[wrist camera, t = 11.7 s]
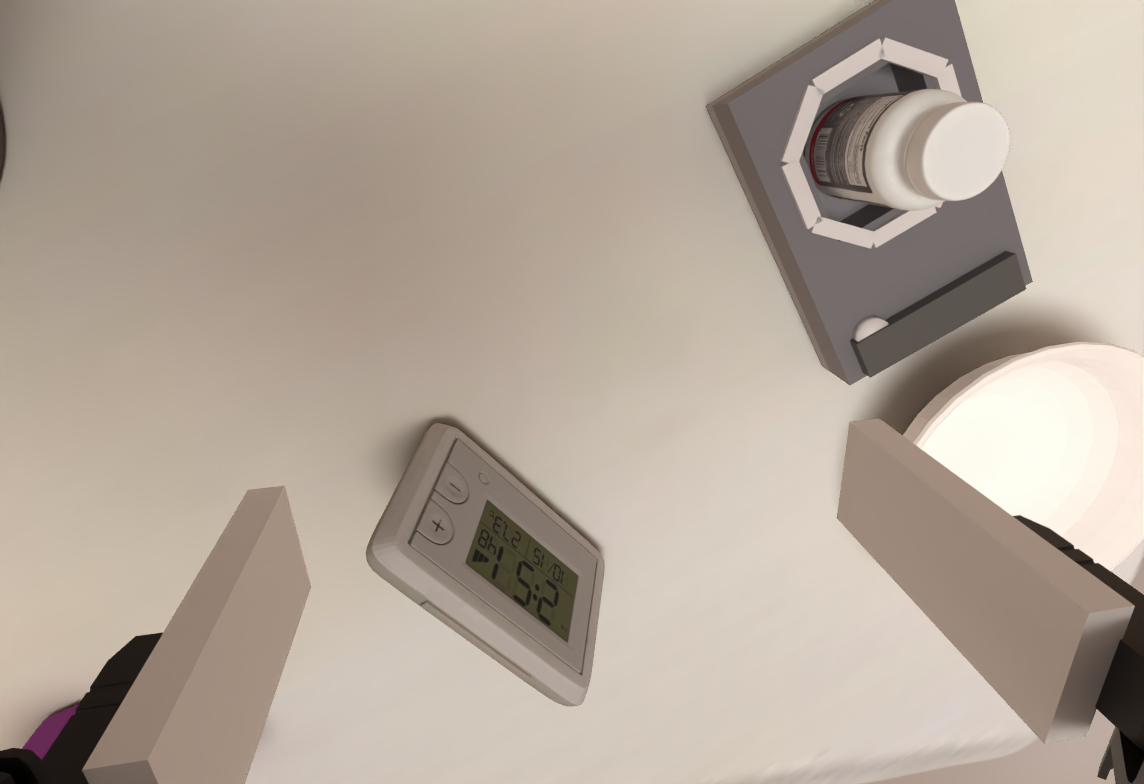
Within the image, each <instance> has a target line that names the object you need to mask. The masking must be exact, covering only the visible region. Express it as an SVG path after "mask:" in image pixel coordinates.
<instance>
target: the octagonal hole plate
mask: <svg viewBox="0 0 1144 784" xmlns="http://www.w3.org/2000/svg"><path fill="white" fill-rule="evenodd" d="M922 89H940V90H946V91H950V92H953V93H955V94H957V95H959V96H960V97H962V98H963V99H965V100H966V101H967V102H981V103H983V101H982V97H981V94H980V90H979V86H978V83H977V79H976V76H975V72H974V68H973V65H972V61H971V58H970V54H969V50H968V47H967V43H966V39H965V36H964V32H963V29H962V25H961V21H960V18H959V14H958V11H957V7H956V3H955V0H875V1H874V2H872V3H870V4H869V5H867V6H866V7H864V8H862V9H861V10H859V11H858V12H856V13H854V14H853V15H851V16H850V17H848V18H846V19H845V20H843V21H842V22H840V23H838V24H837V25H835V26H834V27H832V28H830V29H829V30H827V31H826V32H824V33H822V34H821V35H819V36H818V37H816V38H814V39H813V40H811V41H810V42H808V43H806V44H805V45H803V46H802V47H800V48H798V49H797V50H795V51H794V52H792V53H790V54H789V55H787V56H786V57H784V58H782V59H781V60H779V61H778V62H776V63H774V64H773V65H771V66H770V67H768V68H766V69H765V70H763V71H762V72H760V73H758V74H757V75H755V76H754V77H752V78H750V79H749V80H747V81H746V82H744V83H742V84H741V85H739V86H738V87H736V88H734V89H733V90H731V91H730V92H728V93H726V94H725V95H723V96H722V97H720V98H718V99H717V100H715V101H714V102H712V103H710V104H709V105H707V106H706V107H707V110H708V112H709V114H710V116H711V119H712V121H713V123H714V125H715V128H716V130H717V132H718V134H719V137H720V139H721V141H722V143H723V145H724V148H725V150H726V152H727V154H728V157H729V159H730V161H731V163H732V166H733V168H734V170H735V172H736V174H737V177H738V179H739V181H740V183H741V186H742V188H743V190H744V192H745V195H746V197H747V199H748V201H749V203H750V206H751V208H752V210H753V212H754V215H755V217H756V219H757V221H758V224H759V226H760V228H761V230H762V232H763V235H764V237H765V239H766V241H767V244H768V246H769V248H770V250H771V253H772V255H773V257H774V259H775V261H776V264H777V266H778V268H779V270H780V273H781V275H782V277H783V279H784V282H785V284H786V286H787V288H788V290H789V293H790V295H791V297H792V299H793V302H794V304H795V306H796V308H797V311H798V313H799V315H800V317H801V319H802V322H803V324H804V326H805V328H806V331H807V333H808V335H809V337H810V340H811V342H812V344H813V346H814V348H815V351H816V353H817V355H818V357H819V360H820V362H821V364H822V366H823V367H824V368H826V369H827V370H829V371H830V372H832V373H833V374H835V375H836V376H837V377H839V378H840V379H842V380H843V381H845V382H846V383H847V384H849V385H851V384H853V383H855V382H857V381H858V380H860V379H862V378H864V377H865V376H869V377H872V376H874V375H876V374H877V373H879V372H881V371H883V370H885V369H886V368H888V367H890V366H892V365H893V364H895V363H897V362H899V361H900V360H902V359H904V358H906V357H907V356H909V355H911V354H913V353H914V352H916V351H918V350H920V349H922V348H923V347H925V346H927V345H929V344H930V343H932V342H934V341H936V340H937V339H939V338H941V337H943V336H944V335H946V334H948V333H950V332H951V331H953V330H955V329H957V328H959V327H960V326H962V325H964V324H966V323H967V322H969V321H971V320H973V319H974V318H976V317H978V316H980V315H981V314H983V313H985V312H987V311H988V310H990V309H992V308H994V307H996V306H997V305H999V304H1001V303H1003V302H1004V301H1006V300H1008V299H1010V298H1011V297H1013V296H1015V295H1017V294H1018V293H1020V292H1022V291H1024V290H1025V289H1026V287H1025V286H1026V285H1027V284H1029V283H1031V282H1033V281H1032V278H1031V274H1030V270H1029V267H1028V263H1027V260H1026V256H1025V252H1024V249H1023V245H1022V242H1021V238H1020V234H1019V231H1018V227H1017V223H1016V220H1015V216H1014V213H1013V209H1012V205H1011V202H1010V198H1009V195H1008V191H1007V187H1006V184H1005V180H1004V177H1003V173H1002V170H1001V172H1000V174H999V175H998V177H997V178H996V179H995V180H994V182H993V183H992V184H991V185H990V186H989V187H987V188H986V189H985V190H984V191H982V192H981V193H979V194H978V195H976V196H974V197H971V198H968V199H965V200H960V201H944V202H942V203H941V204H939V205H936V206H934V207H931V208H928V209H924V210H917V211H908V210H898V209H894V208H889V207H884V206H878V205H873V204H868V203H862V202H856V201H850V200H844V199H839V198H835V197H831V196H828V195H826V194H824V193H823V192H822V191H820V190H819V189H818V188H817V187H816V185H815V183H814V180H813V178H812V175H811V173H810V170H809V168H808V165H807V163H806V160H805V148H806V142H807V138H808V135H809V133H810V131H811V129H812V127H813V125H814V124H815V122H816V121H817V119H818V118H819V117H820V115H821V114H822V113H823V112H824V111H826V110H827V109H828V108H829V107H831V106H832V105H834V104H835V103H837V102H839V101H841V100H844V99H847V98H851V97H857V96H866V95H877V94H886V93H894V92H905V91H913V90H922Z"/></svg>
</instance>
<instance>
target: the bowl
mask: <svg viewBox="0 0 1144 784" xmlns="http://www.w3.org/2000/svg"><path fill="white" fill-rule="evenodd" d="M903 436H904V437H905V438H907V439H908V440H909V441H911V442H912V443H913V444H915V445H916V446H918V447H919V448H920V449H922V450H923V451H924V452H926V453H927V454H928V455H930V456H931V457H933V458H934V459H935V460H937V461H938V462H939V463H941V464H942V465H943V466H945V467H946V468H948V469H949V470H950V471H952V472H953V473H954V474H956V475H957V476H958V477H960V478H961V479H963V480H964V481H965V482H967V483H968V484H969V485H971V486H972V487H973V488H975V489H976V490H978V491H979V492H980V493H982V494H983V495H984V496H986V497H987V498H988V499H990V500H991V501H993V502H994V503H995V504H997V505H998V506H999V507H1001V508H1002V509H1003V510H1005V511H1006V512H1008V513H1009V514H1010V515H1012V516H1017V515H1021V516H1023V517H1025V518H1027V519H1030V520H1032V521H1034V522H1036V523H1039V524H1041V525H1043V526H1045V527H1048V528H1050V529H1051V530H1053V531H1054V532H1055V533H1057V534H1058V535H1060V536H1061V537H1063V538H1064V539H1065V540H1067V541H1068V542H1070V543H1071V544H1072V545H1074V548H1075V549H1079V550H1081V551H1082V552H1084V553H1085V554H1087V555H1088V556H1089V557H1091V558H1092V559H1093V561H1094V563H1099V564H1101V565H1102V566H1104V567H1105V568H1106V569H1108V570H1109V571H1112V570H1113V569H1114V568H1115V567H1116V566H1117V565H1119V564H1120V563H1121V562H1122V561H1123V560H1124V559H1125V558H1127V557H1128V556H1129V555H1130V554H1131V553H1132V551H1133V550H1134V549H1135V548H1136V547H1137V546H1138V545H1139V544H1140V542H1141V541H1142V540H1143V539H1144V357H1143V356H1142V355H1140V354H1138V353H1137V352H1135V351H1134V350H1130V349H1127V348H1123V347H1120V346H1116V345H1113V344H1109V343H1096V342H1073V343H1066V344H1060V345H1054V346H1047V347H1044V348H1041V349H1038V350H1035V351H1032V352H1029V353H1023V354H1017V355H1010V356H1007V357H1004V358H1001V359H998V360H995V361H993V362H990V363H987V364H984V365H982V366H980V367H978V368H977V369H975V370H973V371H971V372H969V373H967V374H965V375H964V376H962V377H960V378H958V379H957V380H956V381H954V382H953V383H952V384H950V385H949V386H948V387H946V388H945V389H944V390H943V391H941V392H940V393H939V394H937V395H936V396H935V397H934V398H933V399H932V400H931V401H930V402H929V403H928V404H927V405H926V406H925V407H924V408H923V409H922V411H921V412H920V413H919V414H918V415H917V416H916V417H915V419H914V420H913V422H912V423H911V424H910V426H909V427H908V429H907V430H906V431H905V433H904V434H903Z"/></svg>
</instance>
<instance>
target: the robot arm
mask: <svg viewBox="0 0 1144 784" xmlns="http://www.w3.org/2000/svg"><path fill="white" fill-rule="evenodd" d="M3 152H4V134H3V124H2V117H1V112H0V173H1V168H2V162H3ZM837 519H838V520H839V521H840V522H841V523H842V524H843V525H844V526H845V527H846V528H847V530H848V531H849V532H850V533H851V534H852V535H853V536H854V537H855V538H856V539H857V540H858V542H859V543H860V544H861V545H862V546H863V547H864V548H865V549H866V550H867V551H868V552H869V553H870V555H871V556H872V557H873V558H874V559H875V560H876V561H877V562H878V563H879V564H880V565H881V567H882V568H883V569H884V570H885V571H886V572H887V573H888V574H889V575H890V576H891V577H892V579H893V580H894V581H895V582H896V583H897V584H898V585H899V586H900V587H901V588H902V589H903V590H904V592H905V593H906V594H907V595H908V596H909V597H910V598H911V599H912V600H913V601H914V602H915V604H916V605H917V606H918V607H919V608H920V609H921V610H922V611H923V612H924V613H925V614H926V616H927V617H928V618H929V619H930V620H931V621H932V622H933V623H934V624H935V625H936V626H937V627H938V629H939V630H940V631H941V632H942V633H943V634H944V635H945V636H946V637H947V638H948V639H949V641H950V642H951V643H952V644H953V645H954V646H955V647H956V648H957V649H958V650H959V651H960V652H961V654H962V655H963V656H964V657H965V658H966V659H967V660H968V661H969V662H970V663H971V664H972V666H973V667H974V668H975V669H976V670H977V671H978V672H979V673H980V674H981V675H982V676H983V678H984V679H985V680H986V681H987V682H988V683H989V684H990V685H991V686H992V687H993V688H994V689H995V691H996V692H997V693H998V694H999V695H1000V696H1001V697H1002V698H1003V699H1004V700H1005V701H1006V703H1007V704H1008V705H1009V706H1010V707H1011V708H1012V709H1013V710H1014V711H1015V712H1016V713H1017V715H1018V716H1019V717H1020V718H1021V719H1022V720H1023V721H1024V722H1025V723H1026V724H1027V725H1028V726H1029V728H1030V729H1031V730H1032V731H1033V732H1034V733H1035V734H1036V735H1037V736H1038V737H1039V738H1040V739H1041V741H1042V742H1043V743H1044V744H1047V743H1053V742H1058V741H1064V740H1070V739H1074V738H1081V737H1086V736H1087V733H1088V731H1089V728H1090V725H1091V723H1092V720H1093V717H1094V715H1095V712H1096V709H1098V710H1099V711H1100V712H1101V713H1102V714H1103V715H1104V716H1105V717H1106V718H1107V719H1108V720H1109V721H1111V723H1113V724H1114V725H1115V729H1114V731H1113V734H1112V736H1111V739H1110V741H1109V744H1108V746H1107V749H1106V752H1105V754H1104V757H1103V759H1102V762H1101V764H1100V767H1099V772H1098V777H1099V778H1102V779H1105V780H1106V778H1107V776H1108V773H1109V771H1110V769H1113V768H1114V775H1115V781H1116V784H1144V595H1143V594H1142V593H1140V592H1139V591H1137V590H1136V589H1134V588H1133V587H1132V586H1130V585H1129V584H1128V583H1126V582H1125V581H1123V580H1122V579H1120V578H1119V577H1118V576H1116V575H1115V574H1113V573H1112V572H1111V571H1109V570H1108V569H1106V568H1105V567H1104V566H1102V565H1101V564H1099V563H1094V561H1093V559H1092V558H1091V557H1089V556H1088V555H1087V554H1085V553H1084V552H1082V551H1081V550H1079V549H1075V548H1074V545H1072V544H1071V543H1070V542H1068V541H1067V540H1065V539H1064V538H1063V537H1061V536H1060V535H1058V534H1057V533H1055V532H1054V531H1053V530H1051V529H1050V528H1048V527H1045V526H1043V525H1041V524H1039V523H1036V522H1034V521H1032V520H1030V519H1027V518H1025V517H1023V516H1021V515H1017V516H1012V515H1010V514H1009V513H1008V512H1006V511H1005V510H1003V509H1002V508H1001V507H999V506H998V505H997V504H995V503H994V502H993V501H991V500H990V499H988V498H987V497H986V496H984V495H983V494H982V493H980V492H979V491H978V490H976V489H975V488H973V487H972V486H971V485H969V484H968V483H967V482H965V481H964V480H963V479H961V478H960V477H958V476H957V475H956V474H954V473H953V472H952V471H950V470H949V469H948V468H946V467H945V466H943V465H942V464H941V463H939V462H938V461H937V460H935V459H934V458H933V457H931V456H930V455H928V454H927V453H926V452H924V451H923V450H922V449H920V448H919V447H918V446H916V445H915V444H913V443H912V442H911V441H909V440H908V439H907V438H905V437H904V436H903V435H901V434H900V433H898V432H897V431H896V430H894V429H893V428H892V427H890V426H889V425H888V424H886V423H885V422H883V421H882V420H881V419H871V420H862V421H853V422H850V424H849V431H848V439H847V446H846V454H845V461H844V469H843V476H842V484H841V491H840V498H839V506H838V513H837ZM310 588H311V585H310V582H309V578H308V574H307V570H306V566H305V562H304V558H303V554H302V551H301V547H300V543H299V539H298V535H297V531H296V527H295V524H294V520H293V516H292V512H291V508H290V504H289V500H288V497H287V493H286V489H285V486H279V487H270V488H261V489H253V490H248V491H247V493H246V494H245V496H244V498H243V499H242V501H241V503H240V504H239V506H238V508H237V509H236V511H235V513H234V515H233V516H232V518H231V520H230V521H229V523H228V525H227V526H226V528H225V530H224V531H223V533H222V535H221V536H220V538H219V540H218V541H217V543H216V545H215V547H214V548H213V550H212V552H211V553H210V555H209V557H208V558H207V560H206V562H205V563H204V565H203V567H202V568H201V570H200V572H199V574H198V575H197V577H196V579H195V580H194V582H193V584H192V585H191V587H190V589H189V590H188V592H187V594H186V595H185V597H184V599H183V600H182V602H181V604H180V606H179V607H178V609H177V611H176V612H175V614H174V616H173V617H172V619H171V621H170V622H169V624H168V626H167V627H166V629H165V631H164V633H157V634H149V635H142V636H136V637H134V638H133V639H132V640H131V641H130V642H129V643H128V644H126V645H125V646H124V647H123V648H122V649H121V650H120V651H118V652H117V653H116V654H115V655H114V656H113V657H112V658H110V659H109V660H108V661H107V663H106V664H105V666H104V667H103V669H102V670H101V672H100V673H99V675H98V676H97V678H96V679H95V681H94V682H93V684H92V685H91V687H90V692H88V693H86V694H85V696H84V697H83V699H82V700H81V702H80V703H79V705H78V706H77V708H76V709H75V710H76V713H75V715H71V717H70V718H69V720H68V721H67V723H66V724H65V726H64V727H63V729H62V730H61V732H60V733H59V735H58V737H57V738H56V740H55V741H54V743H53V744H52V746H51V747H50V749H49V750H48V752H47V753H46V755H45V756H44V758H43V759H42V760H41V758H39V757H38V756H37V755H36V754H35V753H34V752H33V751H32V750H28V749H18V748H12V749H7V750H3V751H0V784H245V781H246V778H247V775H248V772H249V769H250V766H251V763H252V760H253V757H254V754H255V751H256V748H257V745H258V742H259V739H260V736H261V733H262V730H263V727H264V724H265V721H266V718H267V716H268V713H269V710H270V707H271V704H272V701H273V698H274V695H275V692H276V689H277V686H278V683H279V680H280V677H281V674H282V671H283V668H284V665H285V662H286V659H287V656H288V653H289V650H290V647H291V644H292V641H293V638H294V635H295V632H296V629H297V626H298V624H299V621H300V618H301V615H302V612H303V609H304V606H305V603H306V600H307V597H308V594H309V591H310Z"/></svg>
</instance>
